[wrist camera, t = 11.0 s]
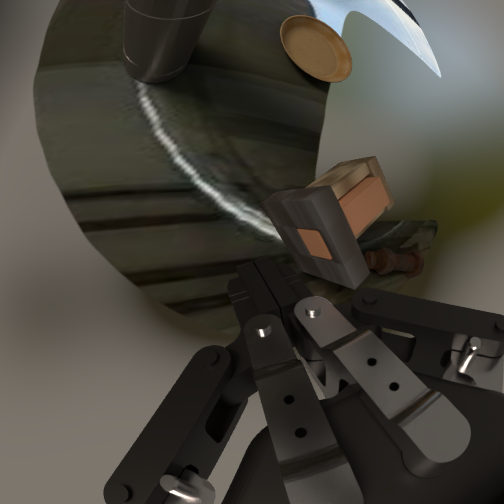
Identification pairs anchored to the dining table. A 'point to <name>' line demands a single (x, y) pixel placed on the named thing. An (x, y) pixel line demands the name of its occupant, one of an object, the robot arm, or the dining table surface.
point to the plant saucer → (316, 48)
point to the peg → (351, 213)
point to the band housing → (326, 221)
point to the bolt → (395, 262)
